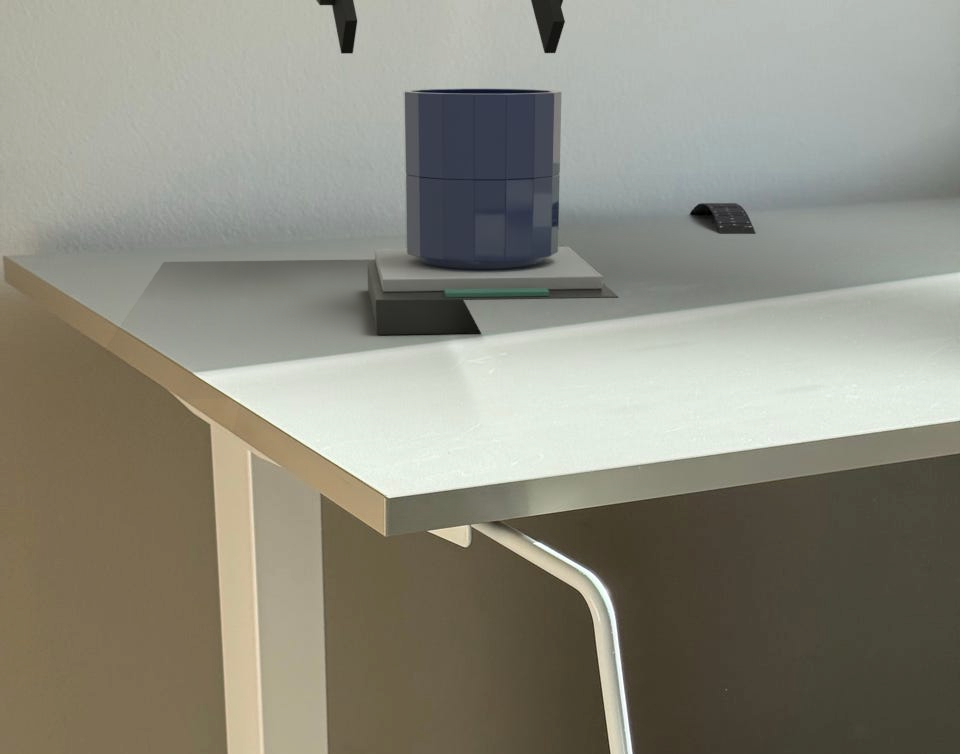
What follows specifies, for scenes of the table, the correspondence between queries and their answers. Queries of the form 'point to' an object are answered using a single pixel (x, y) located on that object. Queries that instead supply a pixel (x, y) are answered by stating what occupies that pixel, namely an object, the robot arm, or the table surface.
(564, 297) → the scale
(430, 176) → the faceted navy pot
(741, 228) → the black curved arch
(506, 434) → the table surface
